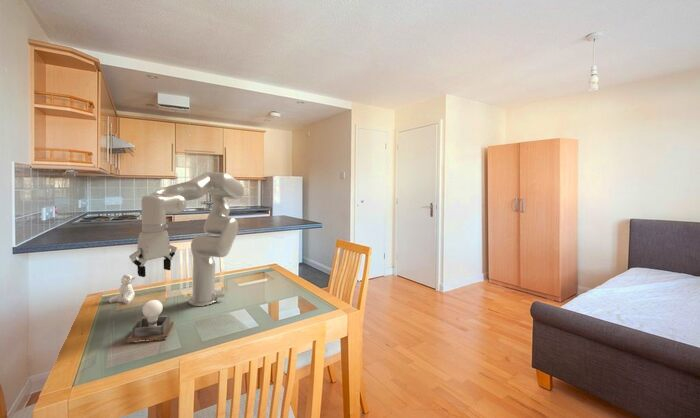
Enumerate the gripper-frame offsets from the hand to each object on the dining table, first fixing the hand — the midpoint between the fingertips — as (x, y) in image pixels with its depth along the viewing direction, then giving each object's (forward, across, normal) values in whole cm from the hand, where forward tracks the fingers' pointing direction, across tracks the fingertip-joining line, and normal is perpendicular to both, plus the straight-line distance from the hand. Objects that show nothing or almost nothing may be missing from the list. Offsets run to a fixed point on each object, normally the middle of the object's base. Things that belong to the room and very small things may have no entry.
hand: (154, 272), depth 118 cm
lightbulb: (+20, +4, +4) cm, 21 cm away
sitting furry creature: (+22, -10, -36) cm, 44 cm away
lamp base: (+21, +4, +4) cm, 22 cm away
